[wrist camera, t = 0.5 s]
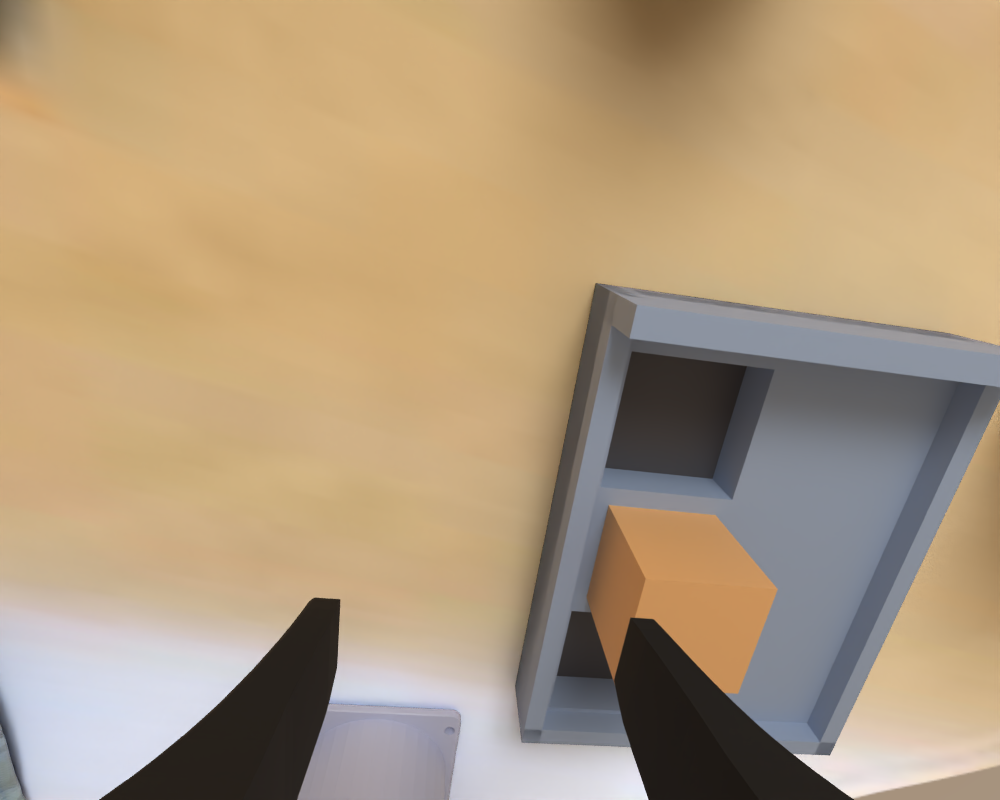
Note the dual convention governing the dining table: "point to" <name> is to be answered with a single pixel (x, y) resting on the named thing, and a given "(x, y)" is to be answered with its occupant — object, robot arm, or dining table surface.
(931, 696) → the dining table surface
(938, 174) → the dining table surface
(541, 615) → the tray
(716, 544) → the block
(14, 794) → the lunch bag
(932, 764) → the dining table surface
